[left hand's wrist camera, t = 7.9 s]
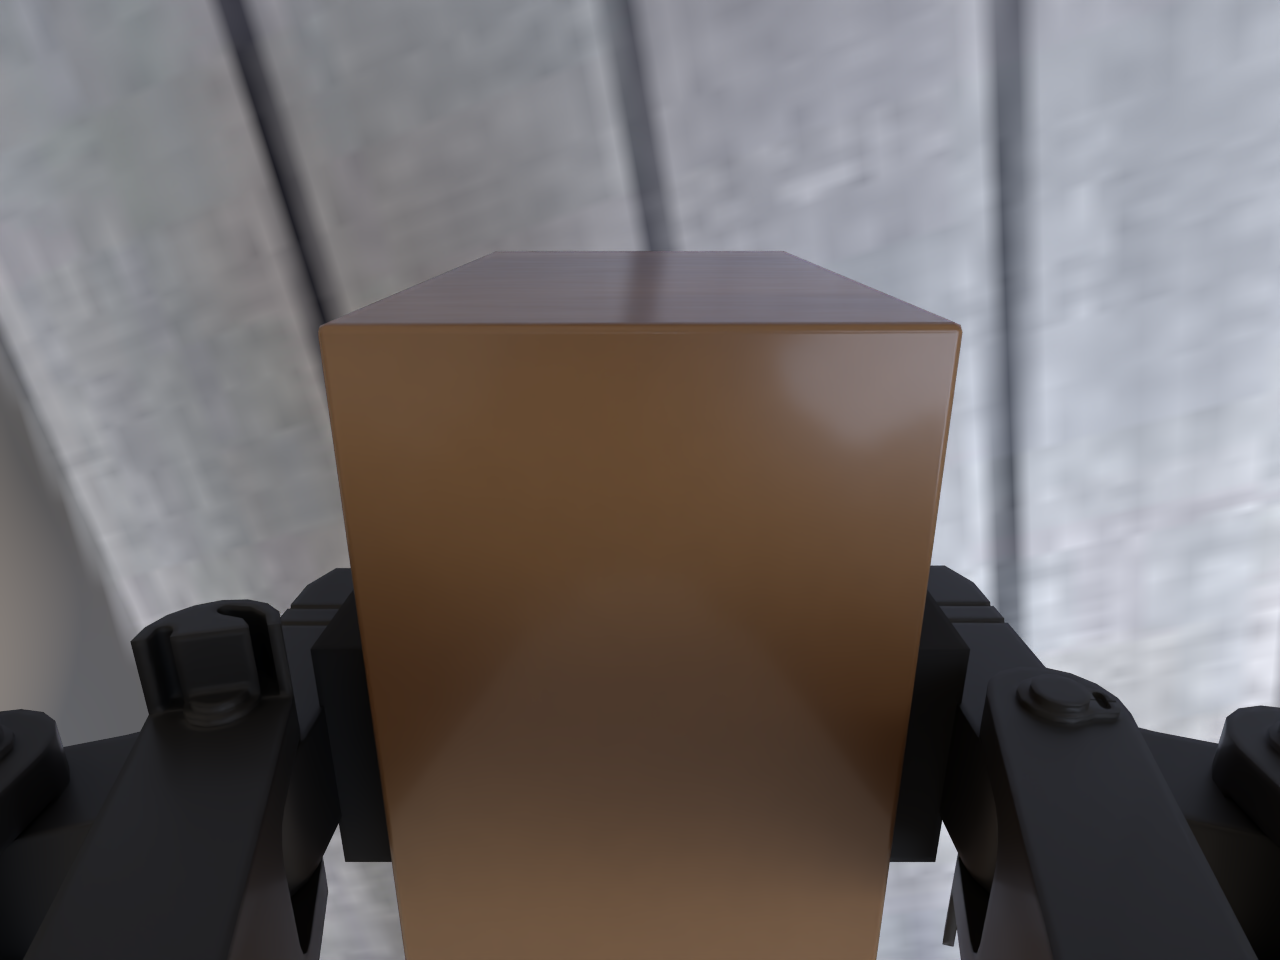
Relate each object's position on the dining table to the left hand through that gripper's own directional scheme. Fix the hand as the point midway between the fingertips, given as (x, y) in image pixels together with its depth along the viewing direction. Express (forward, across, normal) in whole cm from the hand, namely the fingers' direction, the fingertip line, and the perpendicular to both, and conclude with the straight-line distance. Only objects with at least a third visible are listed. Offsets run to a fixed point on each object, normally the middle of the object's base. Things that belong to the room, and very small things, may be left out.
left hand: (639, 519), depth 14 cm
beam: (+1, 0, -26) cm, 26 cm away
